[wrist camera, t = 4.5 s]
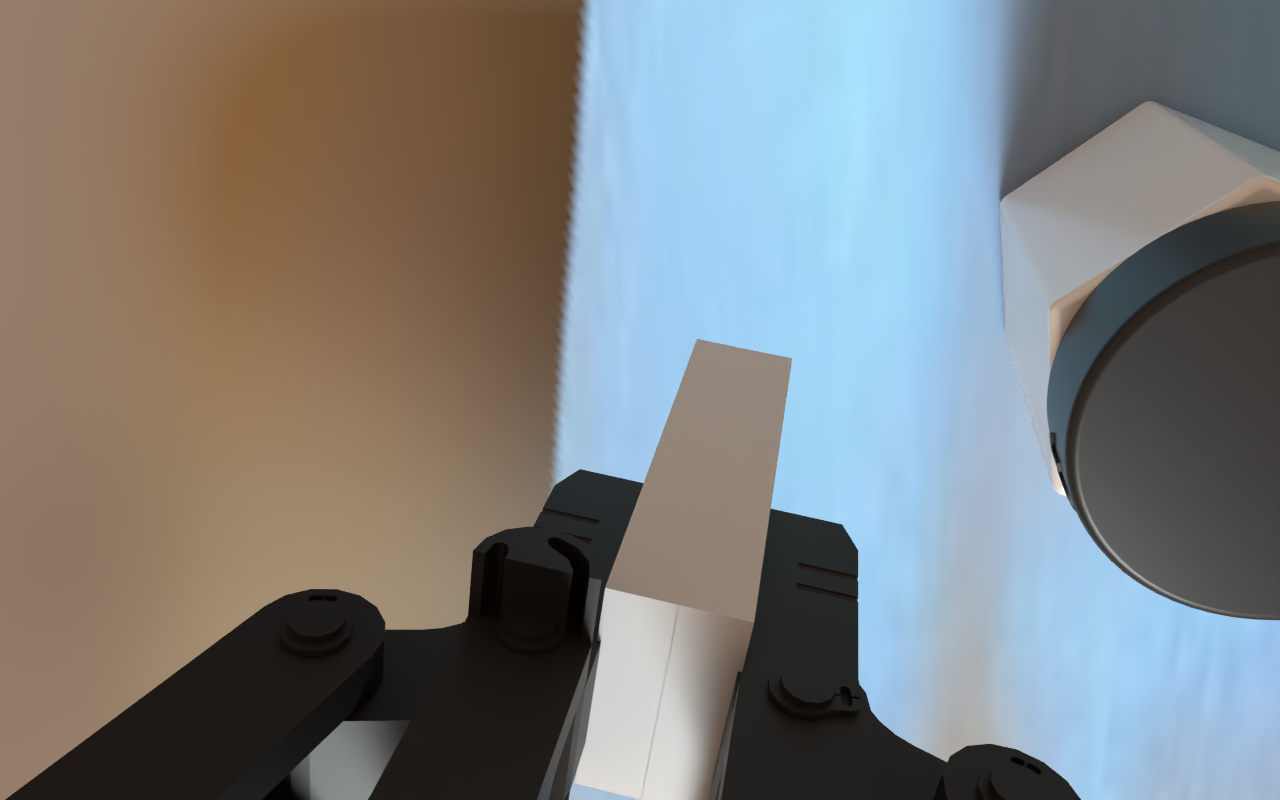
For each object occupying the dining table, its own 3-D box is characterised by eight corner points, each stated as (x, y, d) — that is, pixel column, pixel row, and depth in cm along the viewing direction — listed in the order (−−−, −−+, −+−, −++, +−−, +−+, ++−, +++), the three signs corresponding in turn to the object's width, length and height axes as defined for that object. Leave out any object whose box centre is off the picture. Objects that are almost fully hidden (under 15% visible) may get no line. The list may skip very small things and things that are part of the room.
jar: (934, 320, 32) (968, 524, 21) (1072, 63, 28) (1198, 154, 17) (1205, 430, 31) (1378, 693, 21) (1381, 186, 28) (1704, 356, 17)
